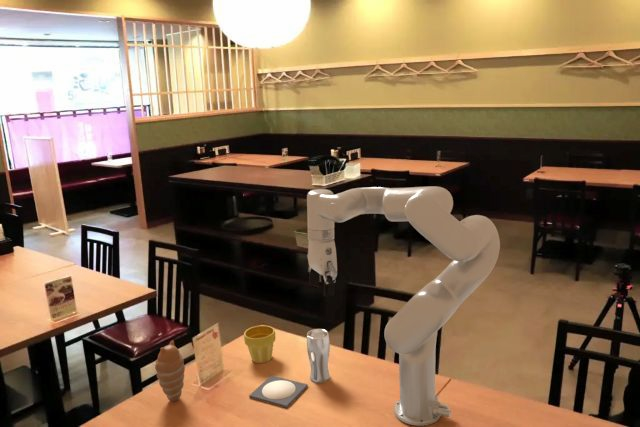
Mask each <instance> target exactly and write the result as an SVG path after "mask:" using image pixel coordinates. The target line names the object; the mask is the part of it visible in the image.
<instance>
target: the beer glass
mask: <svg viewBox="0 0 640 427" xmlns="http://www.w3.org/2000/svg"><path fill="white" fill-rule="evenodd" d="M329 336H330V335H329V332H328V330H326V329H324V328H313V329H311V330H308V332H307V333H306V352H307V356H308V359H309V366H310V378H309V379H310V380H311V382H314V383H317V384H321V383H325V382H328V381H329V380H330V377H331V376H330V372H329V371H330V370H329V359H330V350H331V348H330V347H331V346H330V337H329Z"/></svg>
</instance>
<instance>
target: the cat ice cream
mask: <svg viewBox="0 0 640 427" xmlns="http://www.w3.org/2000/svg"><path fill="white" fill-rule="evenodd" d="M159 350H160V351H159V353H158V354H157V359H156V360H155V365H154V368H155V371H156V378H157V379H158V382H159V386H160V388H161V389H162V392H163V393H164V394H165V396H166V398H167V400H169V401H170V402H177V401H178V400H179V399H180V398H181V396H182V389H183V388H184V380H185V370H186V367H185V364H184V362H185V360H184V358H183V355H182V354H181V353H180V351H179V350H180V349H179V348H177V347H176V345H175V341H174V339H173V340H171V341H170V342H169V343H168V344H167V345H165V346H163V347H160V348H159Z"/></svg>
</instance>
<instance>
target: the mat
mask: <svg viewBox="0 0 640 427" xmlns="http://www.w3.org/2000/svg"><path fill="white" fill-rule="evenodd" d="M308 387H309V384H307V383H303V382H300V381H295V380H293V379H288V378H284V377H279V376H276V375H270V376H269V377H268V378H267V379H266V380H265V381H263V382H262V383H261V384H260V385H259V386H258V387H257V388H256V389H254V390H253V392H251V393H250V394H249V396H248V397H249V399H253V400H256V401H257V400H258V401H260V402H262V403H267V404H269V405H270V404H271V405H275V406H278V407H282V408H285V409H288V408H289V407H290V406H291V404H293V403H294V402H295V401H296V400H297V399H298V397H300V395H301V394H302V393H303V392H304V391H306V390H307V388H308Z"/></svg>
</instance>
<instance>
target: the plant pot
mask: <svg viewBox="0 0 640 427" xmlns="http://www.w3.org/2000/svg"><path fill="white" fill-rule="evenodd" d="M243 338H244V344H245V345H246V346H247V349H248V351H249V354H250V357H251V360H252V361H253V363H257V364H264V363H267V362H269V361H270V360H272V357H273V351H274V349H273V348H274V342H275V341H276V329H275V328H274V327H272V326H270V325H263V324H262V325H255V326H251V327H249V328H247V329H246V330H245V331H244V333H243Z"/></svg>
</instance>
